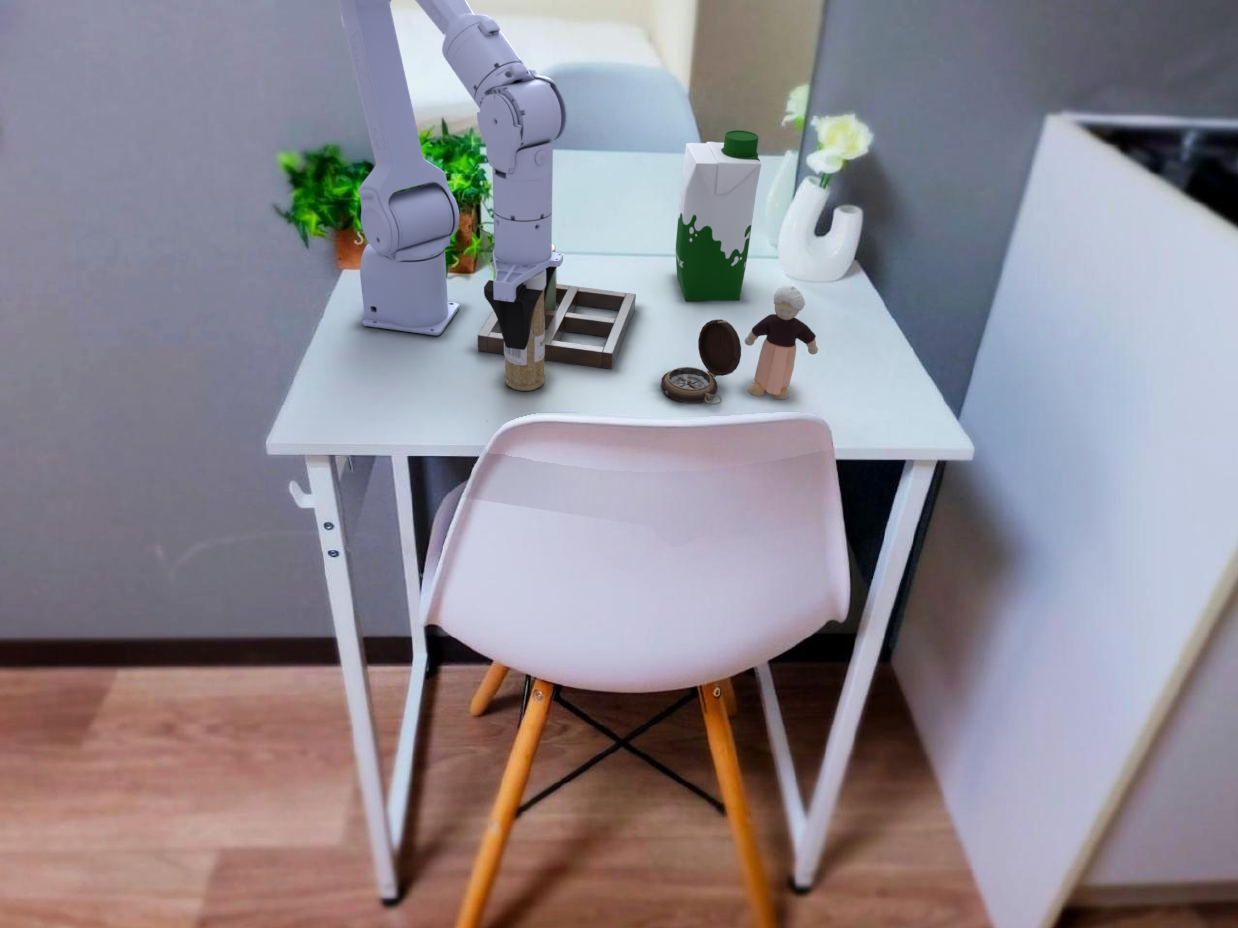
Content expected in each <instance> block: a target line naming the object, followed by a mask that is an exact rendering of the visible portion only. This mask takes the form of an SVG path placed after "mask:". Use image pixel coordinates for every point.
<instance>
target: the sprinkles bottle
mask: <svg viewBox="0 0 1238 928" xmlns="http://www.w3.org/2000/svg"><path fill="white" fill-rule="evenodd" d="M524 285H526V288H528V289H536V290H542V291H543V292H542V294H541V295H540V297H539V299H538V301H537V304H536V306H535V309H534V312H533V316H532V321H531V329H530V335H529V340H528V344H527V347H526V349H525V350H520V349H513V348H507V347H506V345H505V343H504V354H503V355H504V369H505V374H504V377H503V380H504V383H505V384H506V386H508V387H510V388H511V389H514V390H516V391H522V392H524V391H525V392H526V391H533V390H537V389H539V388H540V387H543V385H544V384H545V381H546V374H545V360H544V355H545V332H546V329H545V317H544V289H545V286H546V269H544V270H543V271H541V272H539V273H538V274H536V275H534V276H533V277H531V278H529V279H528V280H526V281H524Z"/></svg>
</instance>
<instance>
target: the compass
mask: <svg viewBox="0 0 1238 928" xmlns="http://www.w3.org/2000/svg"><path fill="white" fill-rule="evenodd" d="M697 342H698V344H697V345H698V346H697V349H698V353H699V357H700V360H701V363H702V364H703V365H704V367H705V368H706V370H707V371H704V370H703V369H701V368H696V367H691V366H684V367H683V366H682V367H677V368H674V369H672V370H670V371H668V372H666V373H665V374H664V375H663V376H662V377H661V382H660V388H661V390H662V392H663V393H664V394H665V395H666V396H667V397H670V398H671V399H673V400H675V401H679V402H684V403H699V402H701V403H702V402H706V403H708V404H710V405H719V404H721V403H722V401H723V399H722V397H721V396H720V395H717V394H716V393H717V390H718V382H717V380H716V377H723V376H724V377H725V376H728V375H730V374H733V373H734V371H736V370H737V369H738V366H739V364H740V362H741V358H742V346H741V345H742V344H741V340H740V336H739V335H738V332H737V330H736V329H735V328H734V326H733V325H732V324H731V323H730V322H729V321H727V320H724V319H721V318H720V319H712V320H709V321H707V322H706V323H705V324H704V325H703V326H702V328H701V330H700V332H699V335H698V340H697ZM713 397H717V398H718V399H720V400H719V401H718V402H712V401H710V400H712V399H713ZM708 400H709V401H708Z"/></svg>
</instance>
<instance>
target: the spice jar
mask: <svg viewBox="0 0 1238 928" xmlns="http://www.w3.org/2000/svg"><path fill="white" fill-rule="evenodd" d="M552 249H553V252H556V245H555V244H554V243H552ZM557 269H558V267H557V268H556V269H555V271H554V274H553V276H552V279H551V282H550V285H549V288H548V292H547V296H546V301H545V306H544V309H545V310H552V311H557V302H556V286H557V284H558V282H557V277H558V276H557V275H558V270H557Z"/></svg>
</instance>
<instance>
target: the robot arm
mask: <svg viewBox="0 0 1238 928" xmlns="http://www.w3.org/2000/svg"><path fill="white" fill-rule="evenodd" d="M414 1H415V2H416V3H417V4H418V5H419V7H420V8H421V9H422V10H423V12H424V13H425V14H426V15H427V17H428V18H429V20H430V21H431V22H432V23H433V24H434V25H435V26H436V27H437V29H438V30H439V32H441V33H442V34H443V41H442V47H441V50H442V52H441V53H442V55H443V58H444V59H445V61H446V62H447V64H448V65H449V66H450V68H451V69H452V71H453V72H454V74H455V75H456V76H457V78H458V79H459V81H460V82H461V84H462V85H463V87H464V88H465V90H466V91H467V92H468V94H469V95H470V97H471V99H473V101H474V103H475V104H476V105H477V107H478V109H479V111H477V112H476V119H477V125H478V128H479V129H478V130H479V131H480V134H481V137H482V138H483V141H484V144H485V147H486V148H485V150H486V160H487V161H488V165H489V166H490V167H491V168H492V199H493V201H492V204H493V205H492V206H493V208H492V209H493V238H494V239H493V244H494V245H493V249H492V264H493V271H494V276H495V277H494V280H491V279H488V281H486V284H484V286H483V294H484V295H483V296H484V298H485V299H486V301H487V302H488V303H489V305H490V307H491V308H492V310H493V311H494V312H495V314H496V316H497V319H498V322H499V325H500V329H501V331H500V333H501V334H502V336H503V339H504V343H505V345H506V347H507V348H513V349H520V350H525V349H526V347H527V344H528V340H529V335H530V329H531V321H532V316H533V312H534V309H535V306H536V304H537V301H538V299H539V297H540V295H541V294H542V292H543V291H542V290H536V289H528V288H526V285H524V281H526V280H528V279H529V278H531V277H533V276H534V275H536V274H538V273H539V272H541V271H543V270H544V269H546V286H545V289H544V306H545V301H546V296H547V292H548V288H549V285H550V282H551V279H552V276H553V274H554V271H555V269H556V268H557V269H558V268H559V267H561V265H562V264H563V262H564V254H563V253H562V252H556V251H555V252H553V249H552V244H553V241H552V239H553V234H552V233H553V174H554V173H553V169H554V167H553V165H554V164H553V163H554V162H553V161H554V160H553V159H554V142H553V141H557V140H558V139H559V138H561V136H563V134H564V132H565V130H566V127H567V119H568V117H567V114H568V113H567V106H566V101H565V99H564V97H563V94H562V92H561V91H560V89H559V87H558V85H557V83H556V82H555V80H553V79H552V78H550V77H548V76H545V75H540V74H538V73H537V71H536V70H535V69H528V67H527V66H526V65H525V63H524V62H523V60H522V59H521V58H520V56H519V55H518V53H517V52H516V50H515V49H514V48H513V46H512V45H511V43H510V42H509V41H508V39H507V38H506V36H505V34H504V33H503V32H502V31H501V28H500V26H499V25H498V23H497V22H496V20H495V19H493V18H492V17H491V16H489V15H486V14H481V13H474V12H473V10H472V8H471V6H470V4H469V3H468V1H467V0H414ZM336 2H337V3H336V4H337V7H338V11H339V15H340V19H341V23H342V28H343V32H344V36H345V40H346V44H347V48H348V52H349V56H350V61H351V66H352V69H353V74H354V77H355V82H356V86H357V90H358V94H359V99H360V103H361V108H362V112H363V116H364V119H365V124H366V128H367V132H368V136H369V141H370V144H371V149H372V153H373V157H374V162H375V166H374V167H373V168H372V170H371V171H370V173H368V175H367V176H366V178H365V179H364V180H363V181H362V183H361V184H360V185H359V187H358V188H357V189H358V194H359V201H360V206H361V207H360V209H361V212H360V224H361V228H362V232H363V234H364V238H365V239H366V241H367V242H368V243H367V245H366V246H365V247H364V249H363V251H362V255H361V258H360V264H359V276H360V287H361V295H362V305H363V314H364V319H363V320H362V325H363V326H364V327H372V328H377V329H387V330H392V331H401V332H407V333H408V332H409V333H414V334H421V335H422V334H423V335H430V336H440V335H441V334H442V333H443V332H444V330H445V329H446V327H447V326H448V324H449V322H450V321H452V318H453V317H454V316H455V314H456V313H457V312H458V310H459V309H460V304H459V303H458V302H454V301H448V281H447V279H448V278H447V264H446V263H447V261H446V248H448V247H450V246H451V237H453V236H454V235H455V234H456V233H457V231H458V228H459V224H460V211H459V206H458V203H457V200H456V198H455V197H454V195H453V193H452V191H451V188H450V186H449V183H448V180H447V175H446V172H445V171H444V170H442V169H441V168H440V167H438V166H436V165H434V164H433V163H432V162H430V161H429V160H428V159H427V160H426V159H425V158H424V154H423V150H422V146H421V141H420V136H419V131H418V127H417V122H416V119H415V118H416V117H415V113H414V109H413V108H414V107H413V103H412V100H411V94H410V90H409V86H408V81H407V77H406V72H405V67H404V62H403V58H402V54H401V49H400V44H399V41H398V36H397V31H396V27H395V22H394V18H393V13H392V8H391V2H392V0H336ZM418 186H419V187H418ZM411 188H412V189H411Z"/></svg>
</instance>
